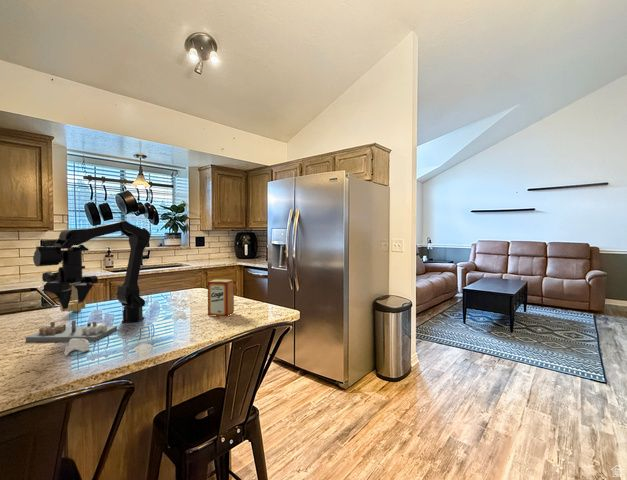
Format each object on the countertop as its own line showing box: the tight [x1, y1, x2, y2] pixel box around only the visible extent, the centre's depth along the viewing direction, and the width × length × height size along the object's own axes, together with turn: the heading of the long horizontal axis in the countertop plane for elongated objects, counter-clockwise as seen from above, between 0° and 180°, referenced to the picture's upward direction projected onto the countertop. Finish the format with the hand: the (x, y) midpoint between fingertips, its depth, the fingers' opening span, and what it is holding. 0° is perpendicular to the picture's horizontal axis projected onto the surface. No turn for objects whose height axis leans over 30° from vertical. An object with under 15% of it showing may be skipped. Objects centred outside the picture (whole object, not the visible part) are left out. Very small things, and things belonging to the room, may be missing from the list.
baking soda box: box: [207, 279, 235, 317], centre depth 141 cm, size 10×6×16 cm
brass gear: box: [59, 300, 87, 313], centre depth 112 cm, size 7×7×2 cm
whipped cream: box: [64, 338, 91, 356], centre depth 98 cm, size 8×7×5 cm
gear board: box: [25, 319, 118, 343], centre depth 113 cm, size 24×12×6 cm, turn 91°
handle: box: [70, 285, 81, 312], centre depth 147 cm, size 5×6×15 cm
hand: (73, 306), depth 112 cm, fingers closed on brass gear, 7 cm apart
